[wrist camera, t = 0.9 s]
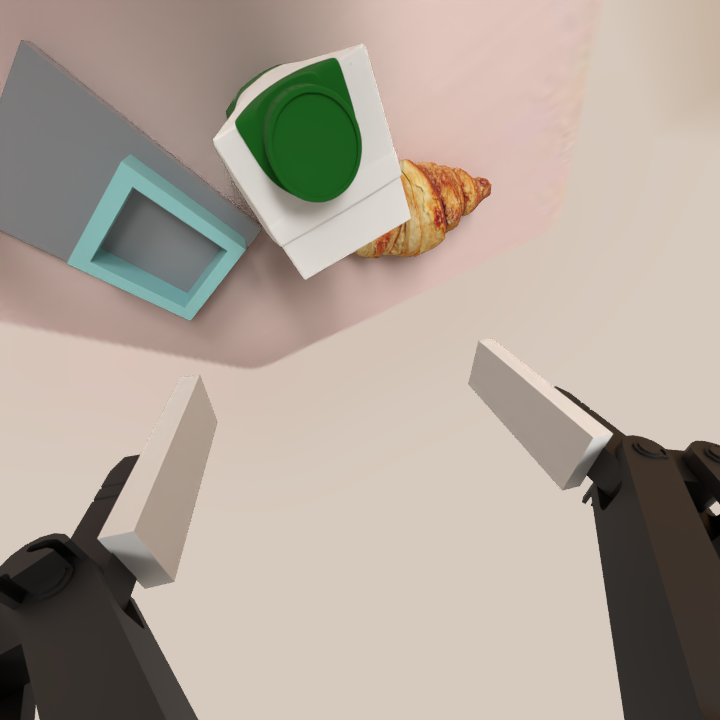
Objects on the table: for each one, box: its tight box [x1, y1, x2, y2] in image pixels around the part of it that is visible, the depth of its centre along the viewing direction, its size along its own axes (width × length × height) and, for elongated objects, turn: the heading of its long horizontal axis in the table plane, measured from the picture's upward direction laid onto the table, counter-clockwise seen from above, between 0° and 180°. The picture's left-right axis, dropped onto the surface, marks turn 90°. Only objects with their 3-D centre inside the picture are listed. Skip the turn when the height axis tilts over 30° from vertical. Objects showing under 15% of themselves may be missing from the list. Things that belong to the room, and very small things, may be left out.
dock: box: [0, 40, 261, 321], centre depth 26 cm, size 18×14×4 cm
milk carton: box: [213, 44, 411, 280], centre depth 20 cm, size 9×9×20 cm
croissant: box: [353, 159, 491, 258], centre depth 33 cm, size 21×10×8 cm, turn 101°
